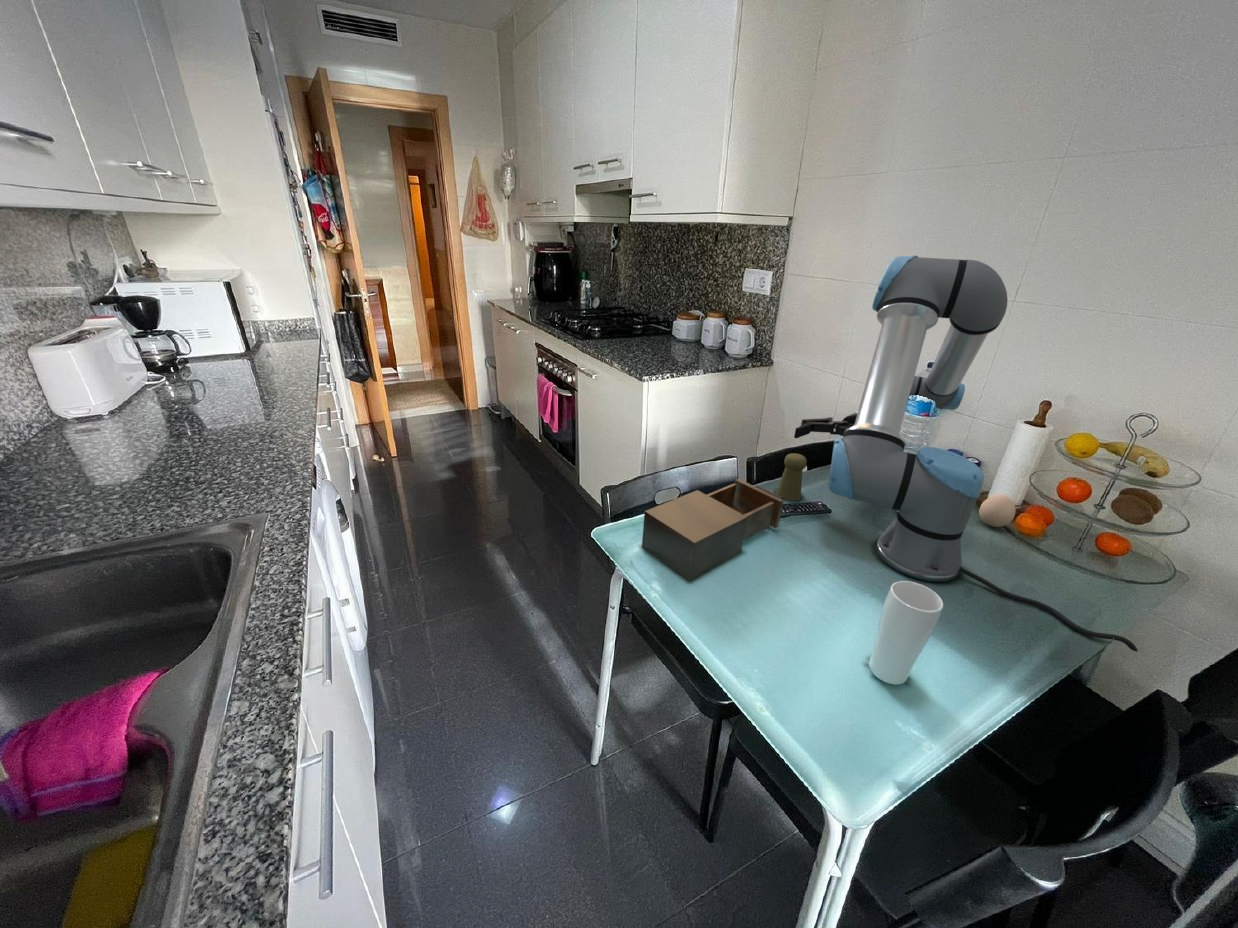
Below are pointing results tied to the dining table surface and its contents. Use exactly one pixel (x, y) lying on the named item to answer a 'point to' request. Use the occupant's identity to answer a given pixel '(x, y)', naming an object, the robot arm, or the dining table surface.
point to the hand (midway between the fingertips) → (819, 441)
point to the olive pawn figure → (792, 477)
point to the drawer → (751, 505)
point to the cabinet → (693, 533)
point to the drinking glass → (904, 630)
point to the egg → (997, 510)
